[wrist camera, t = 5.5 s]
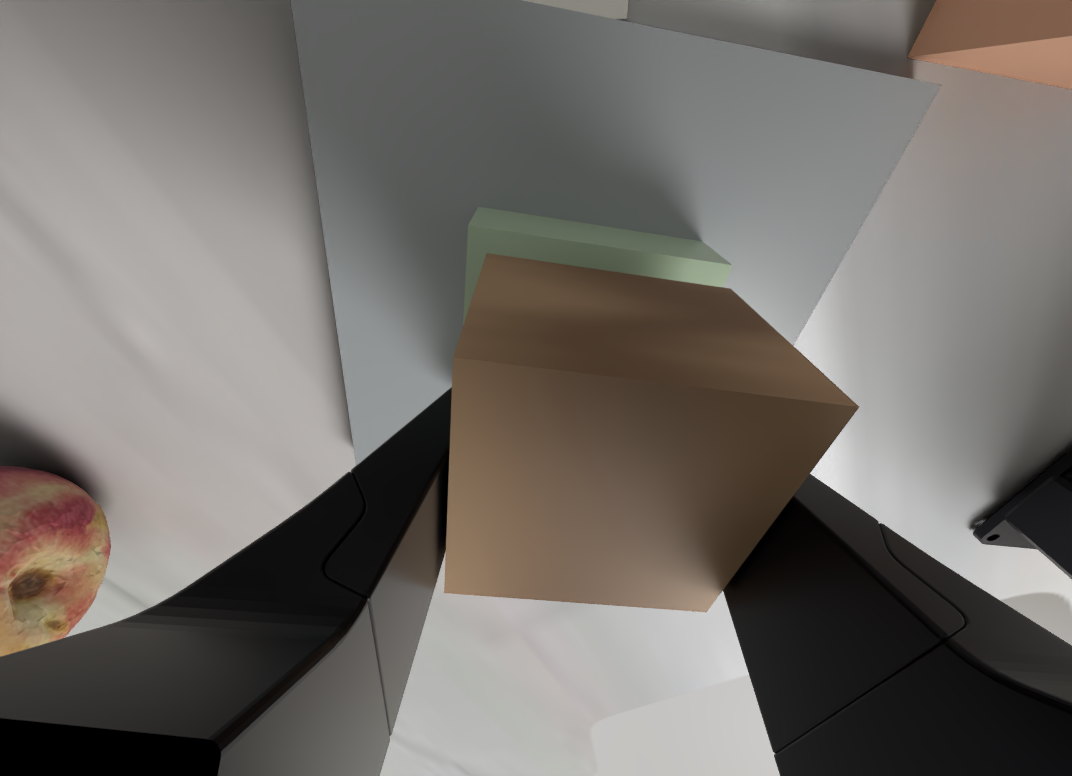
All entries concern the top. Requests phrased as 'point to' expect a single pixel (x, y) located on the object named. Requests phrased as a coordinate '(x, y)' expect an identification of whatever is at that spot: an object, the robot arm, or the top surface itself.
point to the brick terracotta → (1001, 38)
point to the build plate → (569, 169)
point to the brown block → (621, 436)
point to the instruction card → (591, 7)
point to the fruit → (46, 556)
